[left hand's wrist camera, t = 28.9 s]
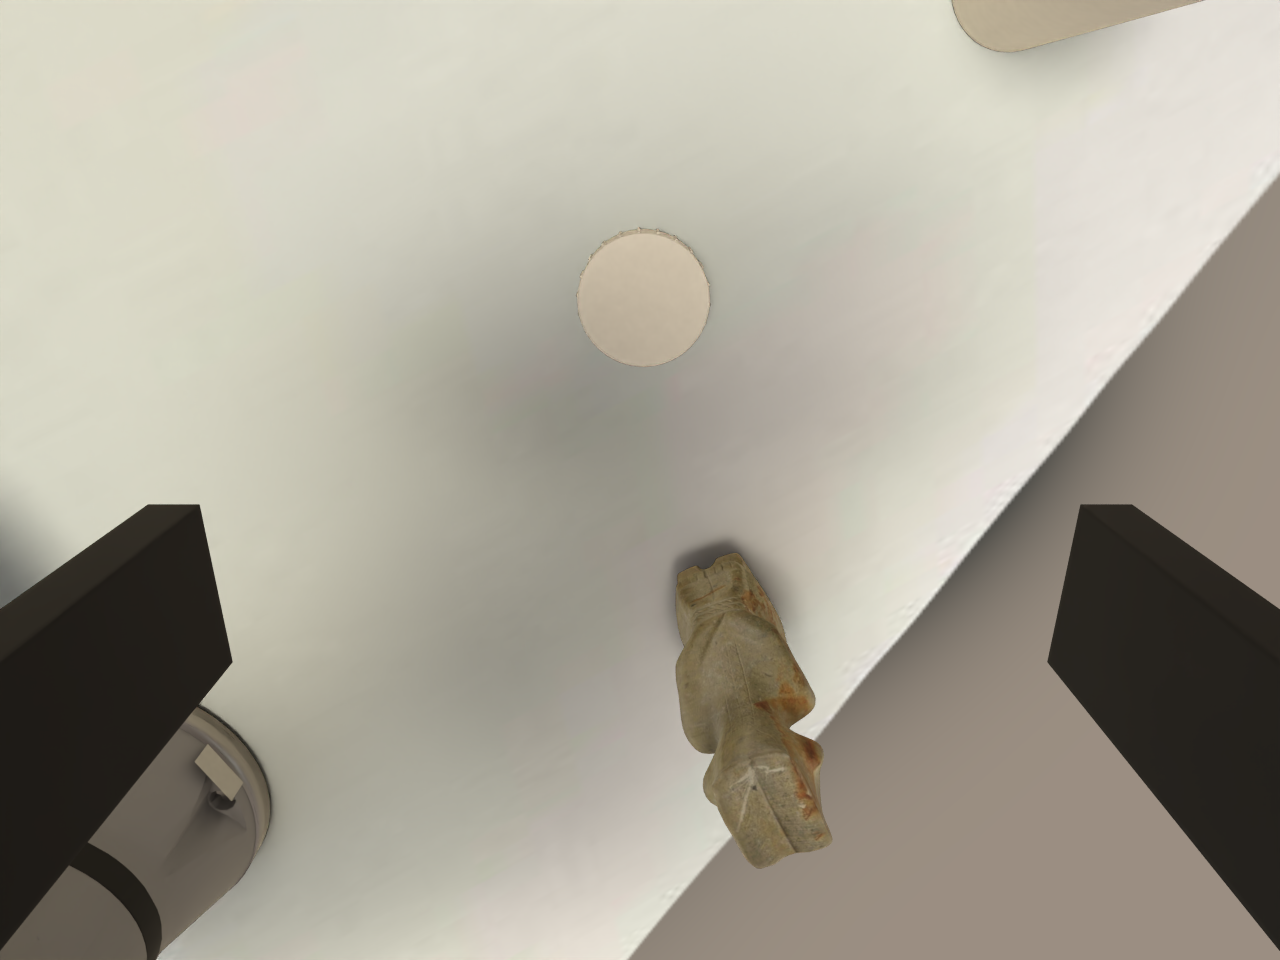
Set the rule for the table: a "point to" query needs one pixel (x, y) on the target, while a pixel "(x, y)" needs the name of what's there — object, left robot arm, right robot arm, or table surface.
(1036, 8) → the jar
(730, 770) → the sculpture
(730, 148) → the table surface
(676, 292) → the lid
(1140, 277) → the table surface
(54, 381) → the table surface
